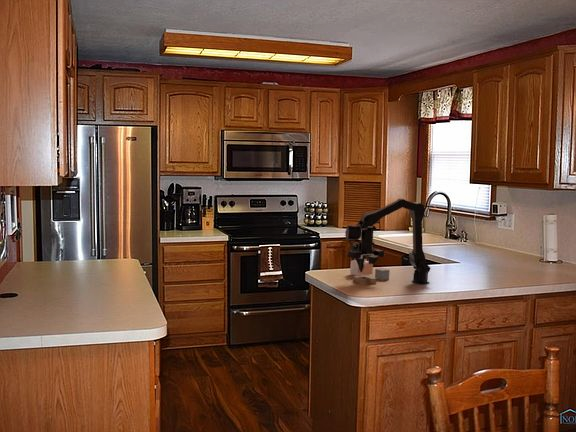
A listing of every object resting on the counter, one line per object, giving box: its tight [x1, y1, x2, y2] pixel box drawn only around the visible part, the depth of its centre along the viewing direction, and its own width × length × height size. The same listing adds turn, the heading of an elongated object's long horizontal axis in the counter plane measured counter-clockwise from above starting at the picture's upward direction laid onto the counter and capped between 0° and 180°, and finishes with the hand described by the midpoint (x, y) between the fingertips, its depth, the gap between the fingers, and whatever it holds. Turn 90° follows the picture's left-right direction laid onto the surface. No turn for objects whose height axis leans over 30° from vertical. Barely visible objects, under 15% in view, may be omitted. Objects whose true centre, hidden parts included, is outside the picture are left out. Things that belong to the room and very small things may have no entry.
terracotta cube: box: [358, 262, 374, 276], centre depth 295 cm, size 5×5×5 cm
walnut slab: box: [352, 275, 378, 286], centre depth 296 cm, size 8×8×3 cm
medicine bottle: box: [349, 256, 369, 276], centre depth 314 cm, size 7×7×12 cm
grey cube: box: [374, 267, 390, 281], centre depth 306 cm, size 5×5×5 cm
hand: (365, 271), depth 295 cm, fingers closed on terracotta cube, 5 cm apart
